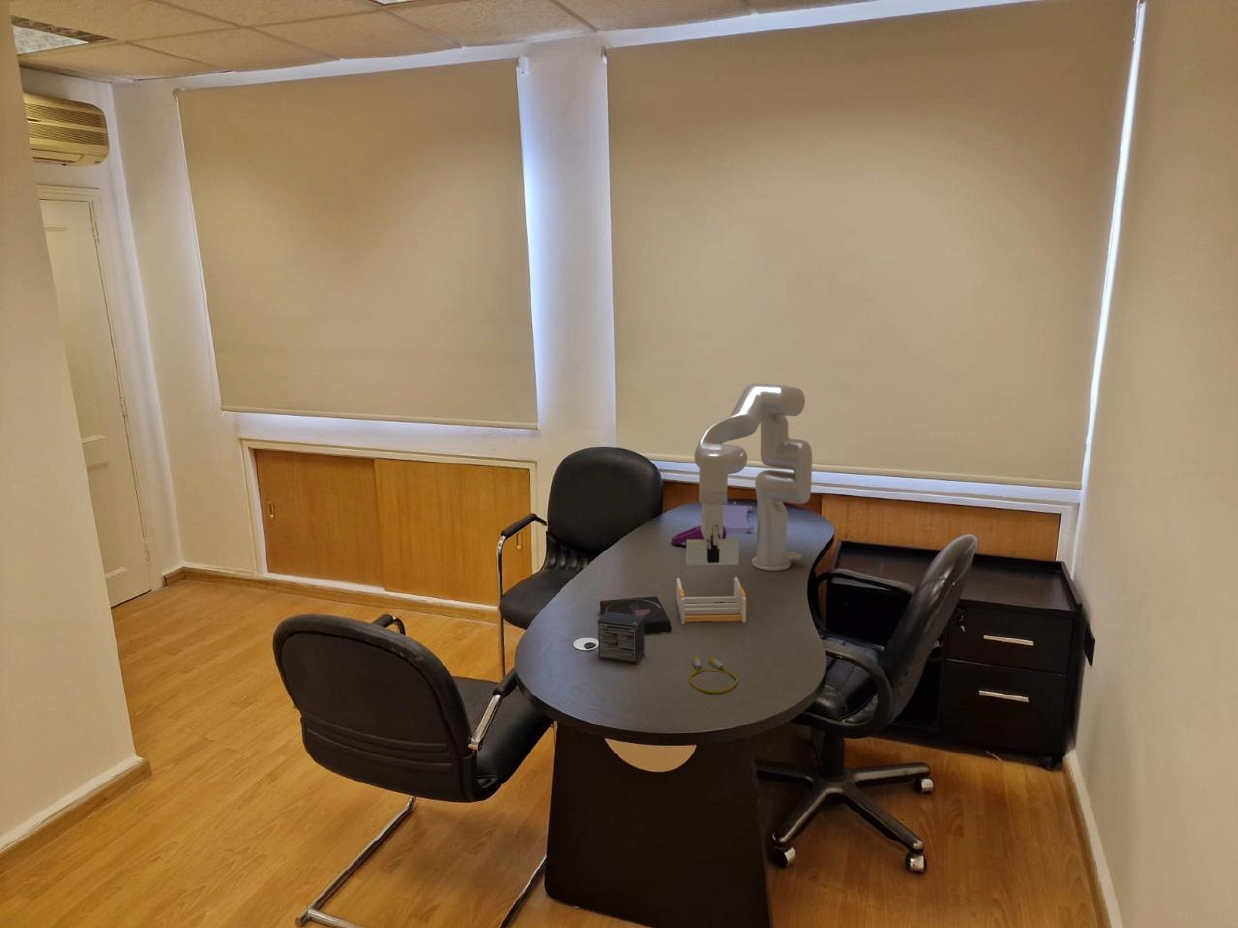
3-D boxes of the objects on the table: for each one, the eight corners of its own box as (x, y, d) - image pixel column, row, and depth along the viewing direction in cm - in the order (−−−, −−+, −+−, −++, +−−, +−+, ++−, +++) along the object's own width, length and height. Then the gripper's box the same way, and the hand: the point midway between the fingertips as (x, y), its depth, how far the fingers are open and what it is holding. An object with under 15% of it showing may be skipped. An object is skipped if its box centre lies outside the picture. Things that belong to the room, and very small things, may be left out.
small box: (645, 653, 205) (645, 614, 202) (638, 664, 199) (637, 625, 196) (606, 647, 208) (605, 609, 206) (597, 658, 202) (596, 620, 200)
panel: (736, 561, 222) (737, 538, 221) (738, 564, 220) (738, 541, 219) (686, 562, 222) (686, 539, 221) (687, 565, 220) (687, 542, 218)
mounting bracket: (677, 563, 283) (722, 548, 275) (667, 541, 283) (712, 525, 274) (686, 554, 291) (730, 539, 283) (677, 533, 291) (720, 518, 283)
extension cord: (743, 666, 198) (743, 659, 197) (733, 698, 183) (733, 690, 183) (694, 660, 201) (694, 653, 201) (680, 691, 186) (680, 683, 186)
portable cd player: (672, 633, 216) (672, 619, 215) (609, 639, 214) (609, 625, 213) (658, 608, 232) (658, 596, 231) (600, 613, 229) (600, 600, 228)
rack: (736, 599, 237) (737, 575, 235) (746, 622, 221) (746, 596, 219) (676, 600, 236) (676, 576, 235) (681, 623, 221) (681, 598, 219)
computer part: (752, 511, 323) (715, 510, 325) (752, 501, 322) (715, 500, 324) (753, 535, 294) (712, 533, 297) (754, 524, 293) (713, 522, 296)
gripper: (696, 488, 224) (695, 550, 229) (702, 504, 209) (702, 571, 213) (723, 487, 225) (722, 550, 229) (731, 504, 209) (730, 570, 213)
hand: (712, 559), depth 221 cm, fingers closed on panel, 2 cm apart
